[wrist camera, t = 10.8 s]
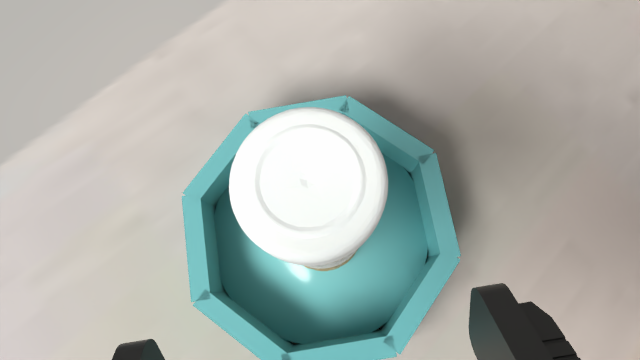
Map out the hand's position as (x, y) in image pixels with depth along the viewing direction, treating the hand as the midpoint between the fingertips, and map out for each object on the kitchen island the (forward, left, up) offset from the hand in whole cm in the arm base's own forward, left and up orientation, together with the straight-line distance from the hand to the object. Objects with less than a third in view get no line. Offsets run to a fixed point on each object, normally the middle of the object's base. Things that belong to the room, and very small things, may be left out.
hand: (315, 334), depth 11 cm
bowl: (0, -4, -14) cm, 15 cm away
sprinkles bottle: (0, -4, -14) cm, 14 cm away
